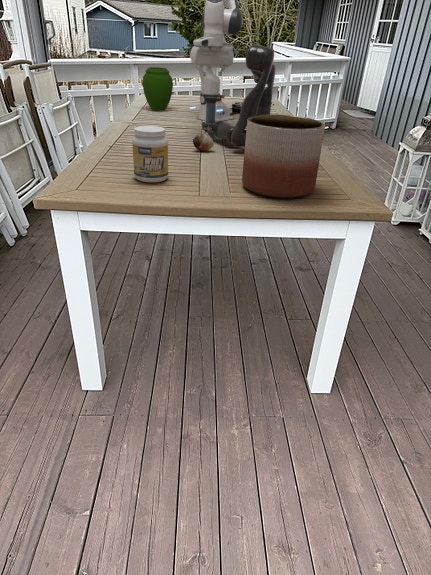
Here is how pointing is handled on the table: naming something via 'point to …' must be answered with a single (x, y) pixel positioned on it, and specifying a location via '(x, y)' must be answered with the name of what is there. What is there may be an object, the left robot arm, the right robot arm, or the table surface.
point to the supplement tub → (150, 154)
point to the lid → (211, 99)
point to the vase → (157, 88)
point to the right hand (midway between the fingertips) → (207, 123)
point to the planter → (282, 155)
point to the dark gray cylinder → (210, 116)
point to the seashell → (203, 142)
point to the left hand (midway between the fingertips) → (212, 76)
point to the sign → (236, 107)
